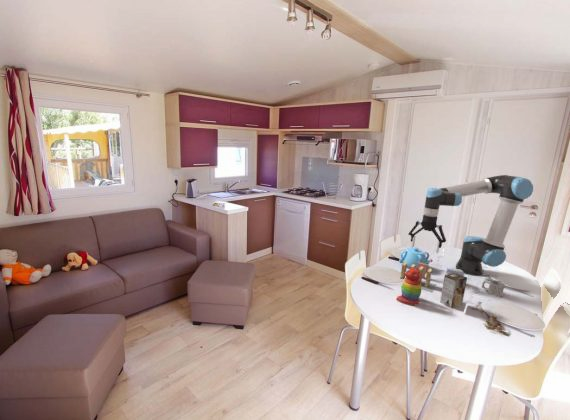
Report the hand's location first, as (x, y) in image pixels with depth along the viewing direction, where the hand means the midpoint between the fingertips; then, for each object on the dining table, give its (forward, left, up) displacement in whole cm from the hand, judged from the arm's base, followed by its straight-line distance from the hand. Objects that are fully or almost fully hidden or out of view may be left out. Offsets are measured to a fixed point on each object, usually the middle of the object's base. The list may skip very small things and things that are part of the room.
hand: (424, 249), depth 178 cm
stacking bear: (-2, +32, -19) cm, 37 cm away
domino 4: (-1, +10, -18) cm, 20 cm away
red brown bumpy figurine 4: (+8, +10, -18) cm, 22 cm away
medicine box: (-17, -7, -19) cm, 26 cm away
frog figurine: (-39, +30, -20) cm, 53 cm away
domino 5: (-6, +10, -18) cm, 21 cm away
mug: (-36, -10, -19) cm, 42 cm away
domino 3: (0, 0, -19) cm, 19 cm away
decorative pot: (+8, -16, -19) cm, 26 cm away
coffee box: (-20, +22, -19) cm, 35 cm away
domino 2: (+3, +10, -18) cm, 21 cm away
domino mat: (+3, +10, -19) cm, 21 cm away
